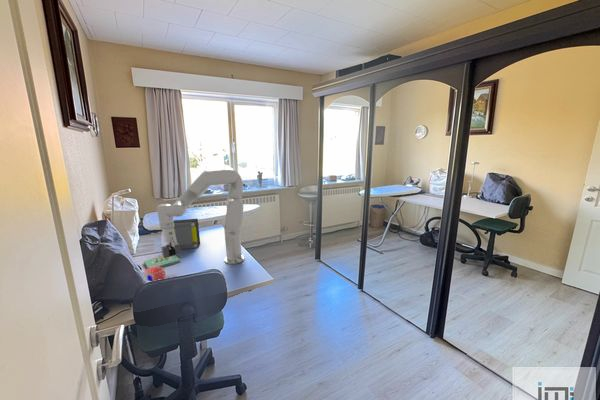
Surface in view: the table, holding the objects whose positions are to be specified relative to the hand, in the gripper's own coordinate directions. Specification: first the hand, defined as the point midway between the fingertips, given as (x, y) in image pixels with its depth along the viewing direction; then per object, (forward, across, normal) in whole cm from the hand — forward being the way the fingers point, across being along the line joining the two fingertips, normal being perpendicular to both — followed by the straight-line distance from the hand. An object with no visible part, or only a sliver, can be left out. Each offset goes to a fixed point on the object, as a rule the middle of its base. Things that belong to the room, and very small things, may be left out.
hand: (171, 253), depth 158 cm
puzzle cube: (+10, -9, +13) cm, 19 cm away
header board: (+10, +15, +3) cm, 19 cm away
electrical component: (+11, +31, -18) cm, 38 cm away
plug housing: (+1, 0, 0) cm, 1 cm away
